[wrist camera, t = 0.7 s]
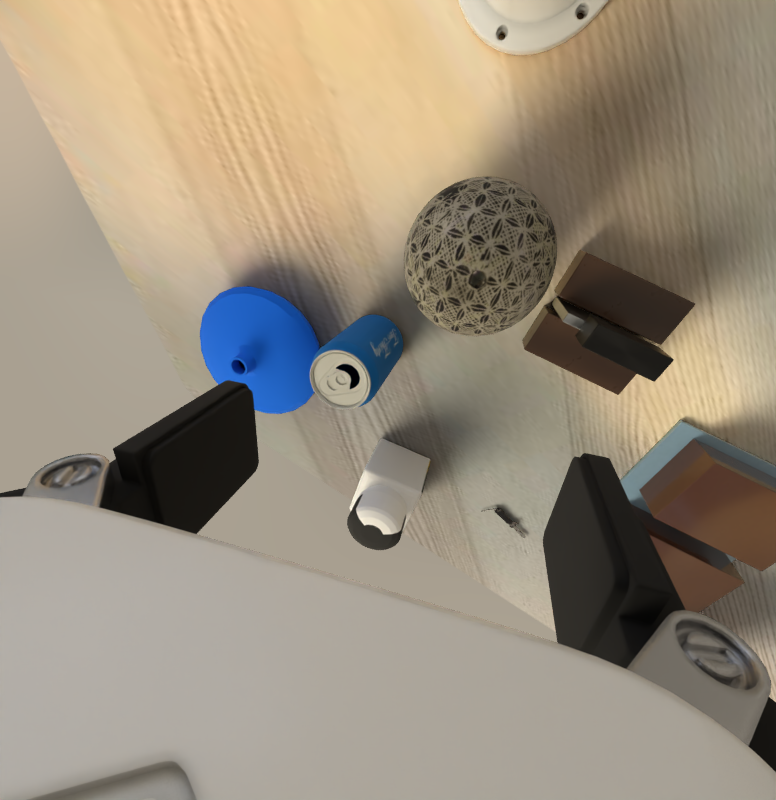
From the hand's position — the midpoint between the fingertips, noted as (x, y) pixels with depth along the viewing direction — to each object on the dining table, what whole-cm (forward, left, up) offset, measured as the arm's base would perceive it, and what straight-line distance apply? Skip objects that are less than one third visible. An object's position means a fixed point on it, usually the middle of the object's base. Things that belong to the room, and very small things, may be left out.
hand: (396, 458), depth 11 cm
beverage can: (+10, -6, -32) cm, 34 cm away
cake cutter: (-2, +13, -31) cm, 34 cm away
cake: (+13, +34, -31) cm, 48 cm away
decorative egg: (-3, 0, -32) cm, 32 cm away
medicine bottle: (+25, +3, -32) cm, 40 cm away
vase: (+17, -18, -32) cm, 40 cm away
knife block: (-2, +13, -31) cm, 34 cm away
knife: (+25, +19, -31) cm, 44 cm away
